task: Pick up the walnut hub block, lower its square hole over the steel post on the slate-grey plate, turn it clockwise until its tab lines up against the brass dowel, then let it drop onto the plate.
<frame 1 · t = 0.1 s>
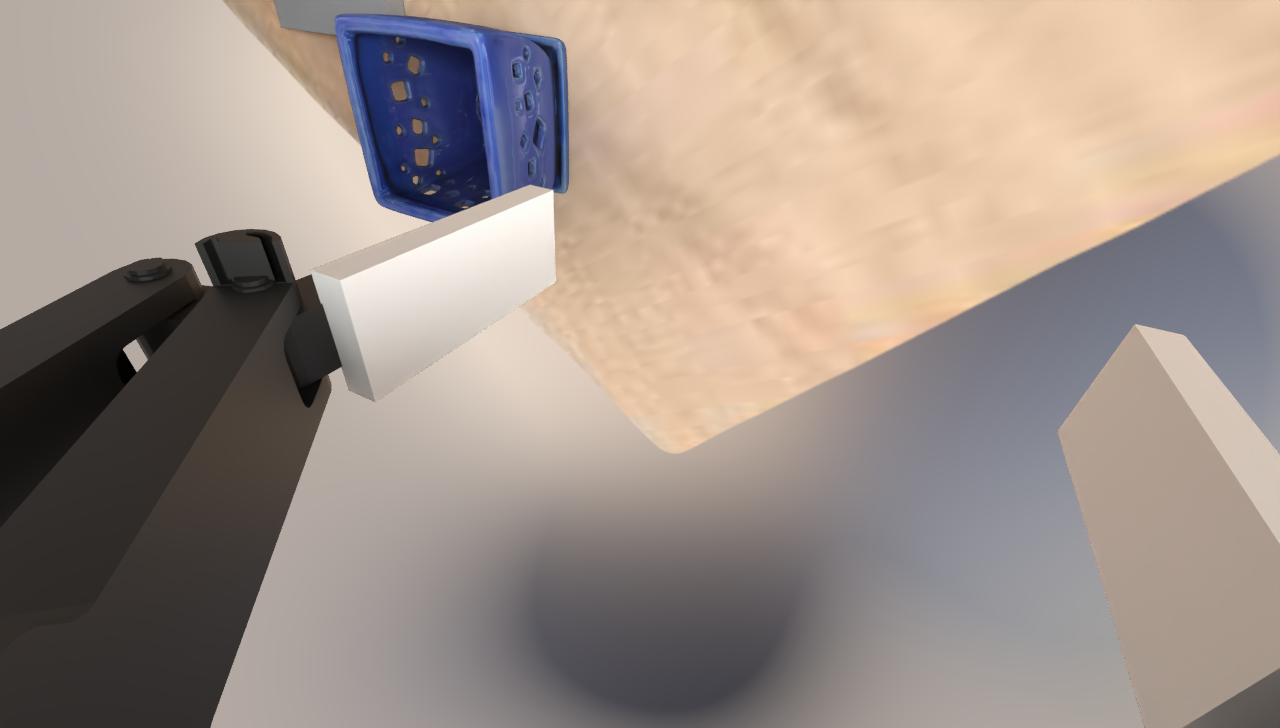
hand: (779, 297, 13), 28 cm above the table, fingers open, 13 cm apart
flower pot: (524, 111, 45), on the table
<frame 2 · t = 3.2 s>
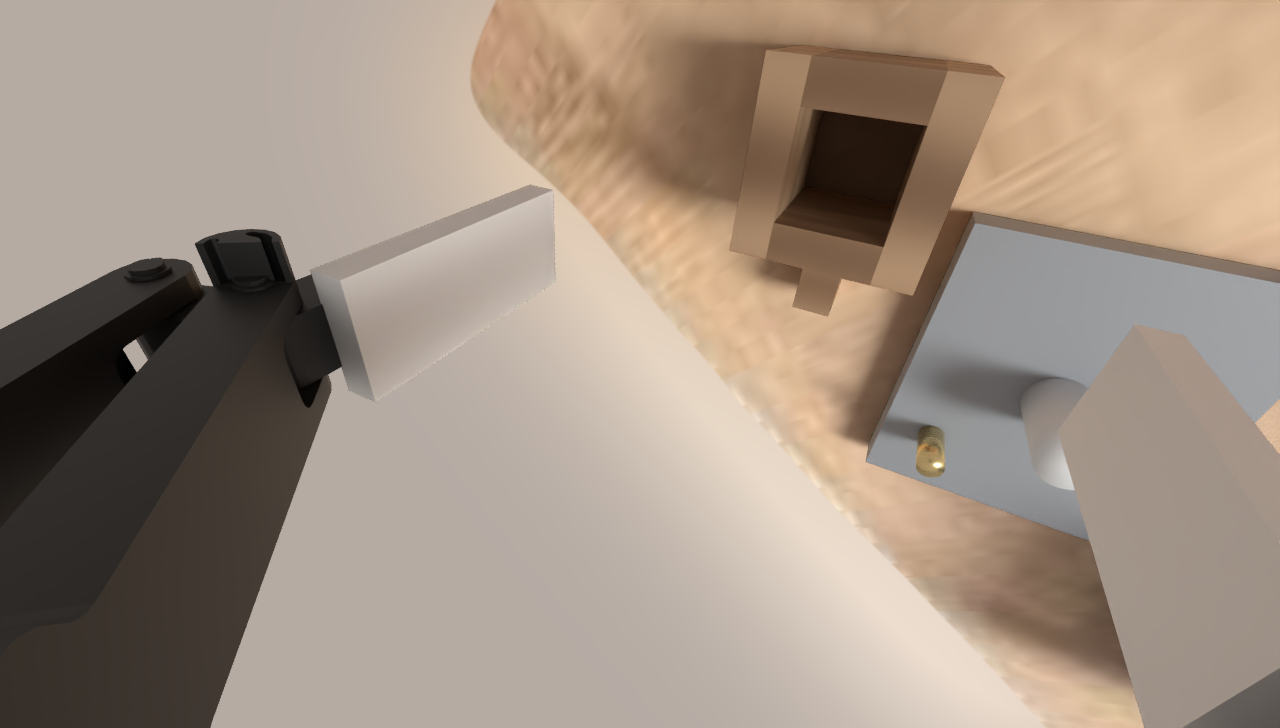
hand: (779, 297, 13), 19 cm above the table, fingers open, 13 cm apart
dowel pin: (931, 415, 32), resting on post base
post base: (1049, 382, 28), on the table
hub block: (862, 148, 27), on the table
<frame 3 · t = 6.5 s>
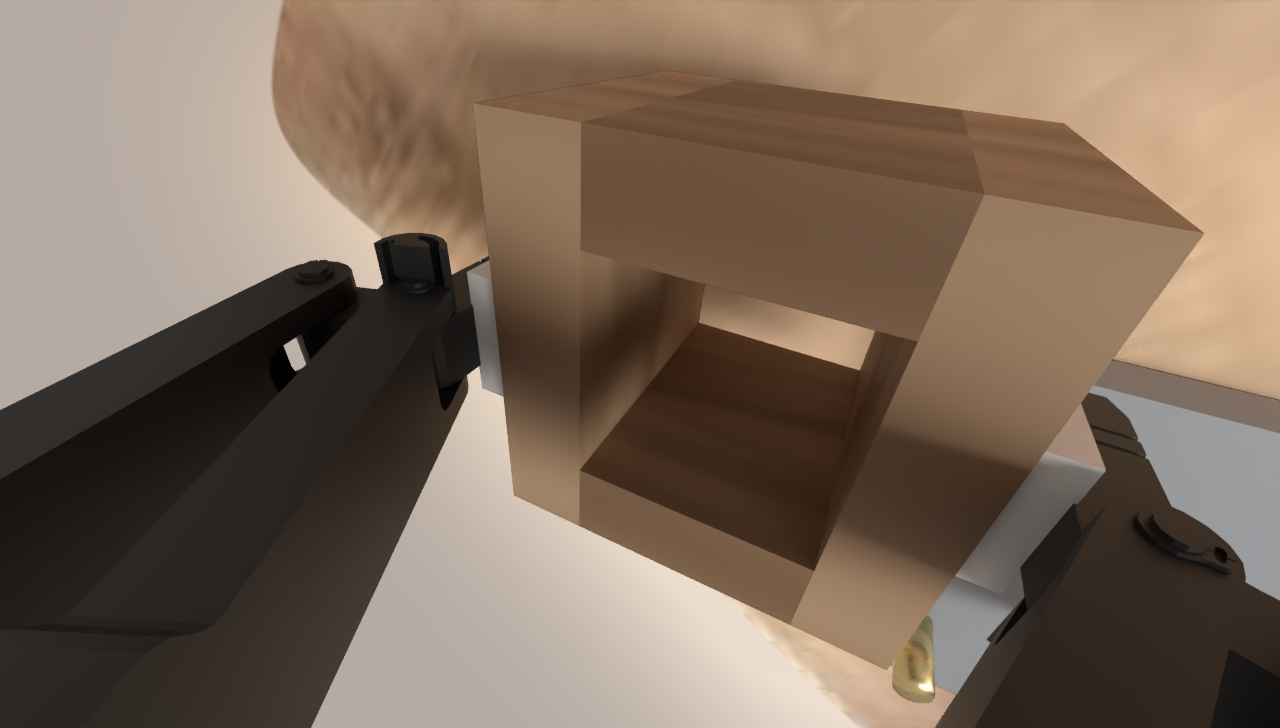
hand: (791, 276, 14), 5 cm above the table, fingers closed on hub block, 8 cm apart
dowel pin: (914, 580, 23), resting on post base
post base: (1084, 561, 19), on the table
hub block: (795, 270, 14), point 4 cm above the table, touching gripper
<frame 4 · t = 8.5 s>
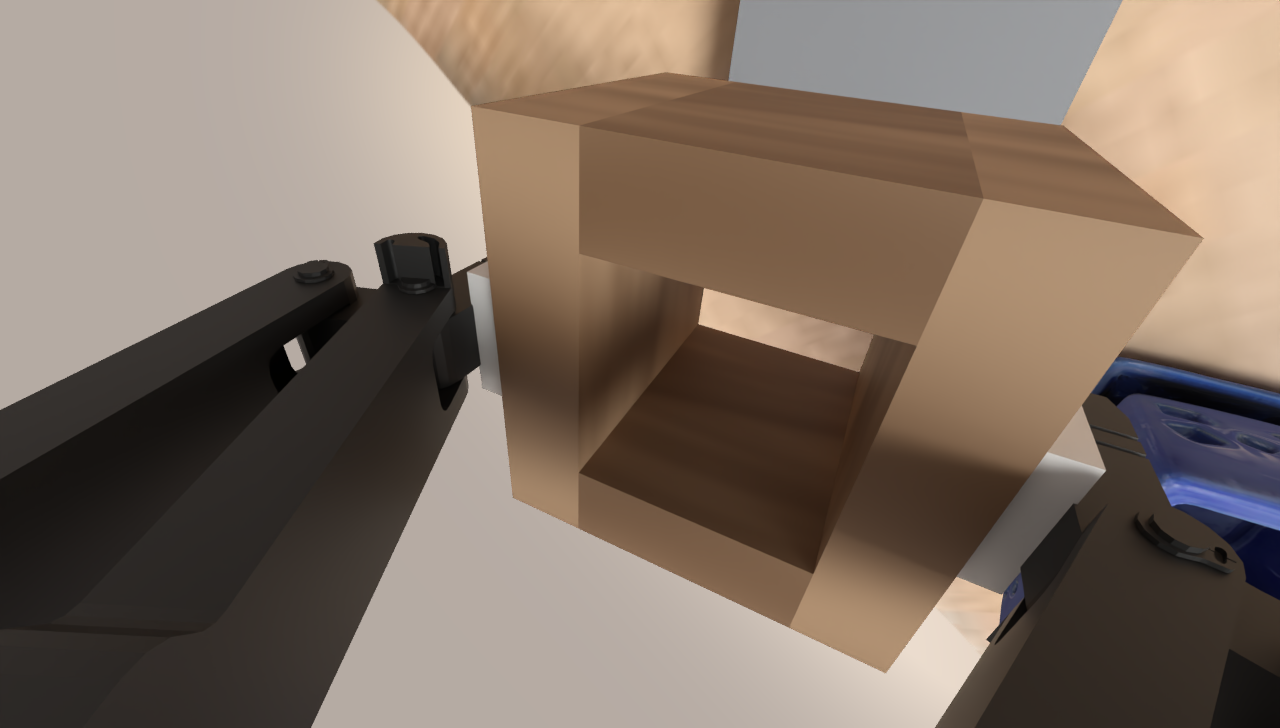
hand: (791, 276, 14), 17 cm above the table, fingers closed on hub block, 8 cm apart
flower pot: (1166, 458, 27), on the table
post base: (863, 156, 26), on the table
hub block: (794, 271, 14), point 16 cm above the table, touching gripper
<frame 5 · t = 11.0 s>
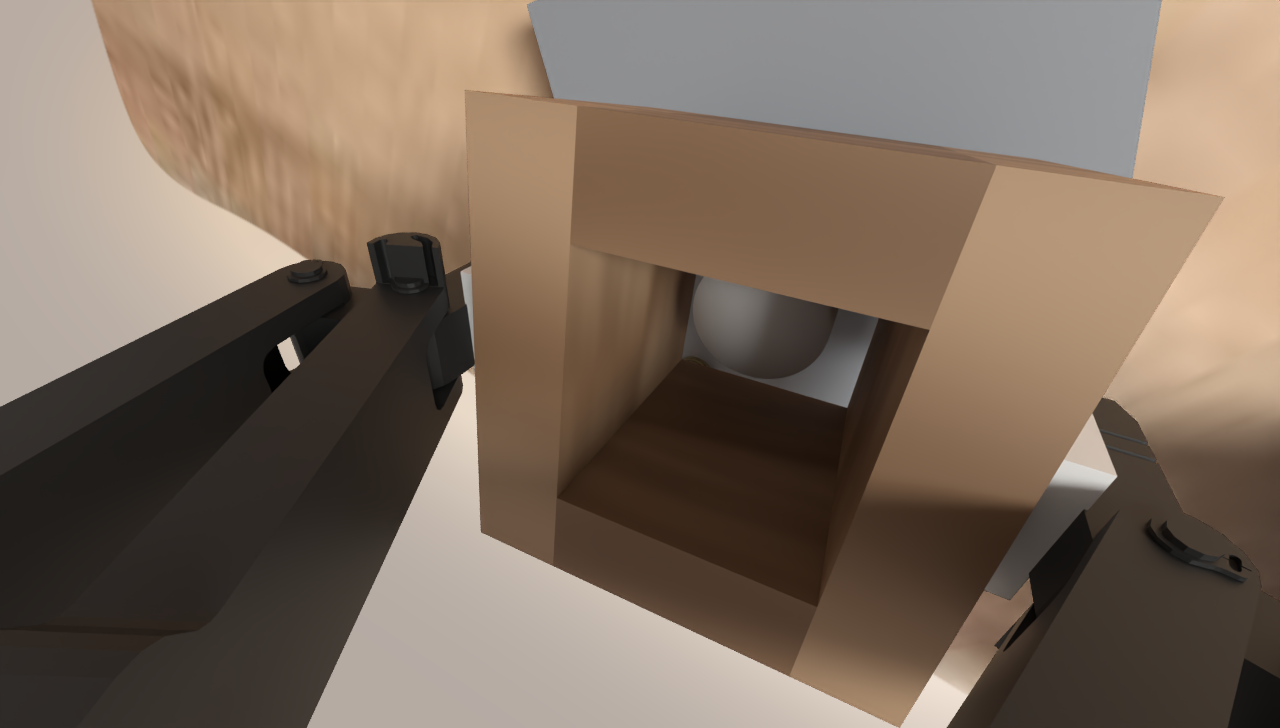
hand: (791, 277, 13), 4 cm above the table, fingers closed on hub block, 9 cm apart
post base: (816, 224, 16), on the table
hub block: (780, 303, 14), point 4 cm above the table, tilted 9°, touching gripper
when the fingers open (3 cm above the table, at t = 11.6 s): hub block drops 1 cm, resting on post base.
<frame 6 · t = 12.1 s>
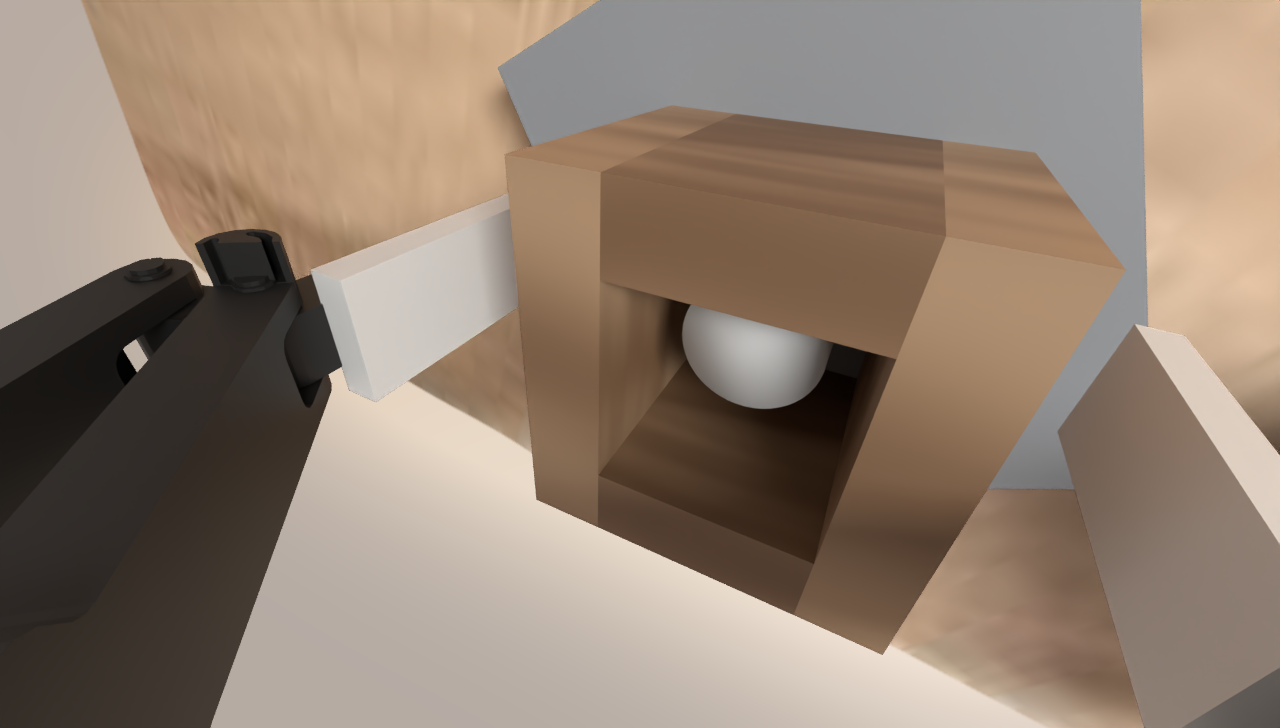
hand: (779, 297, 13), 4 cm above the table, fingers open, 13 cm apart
post base: (813, 240, 16), on the table
hub block: (794, 285, 15), point 2 cm above the table, touching post base
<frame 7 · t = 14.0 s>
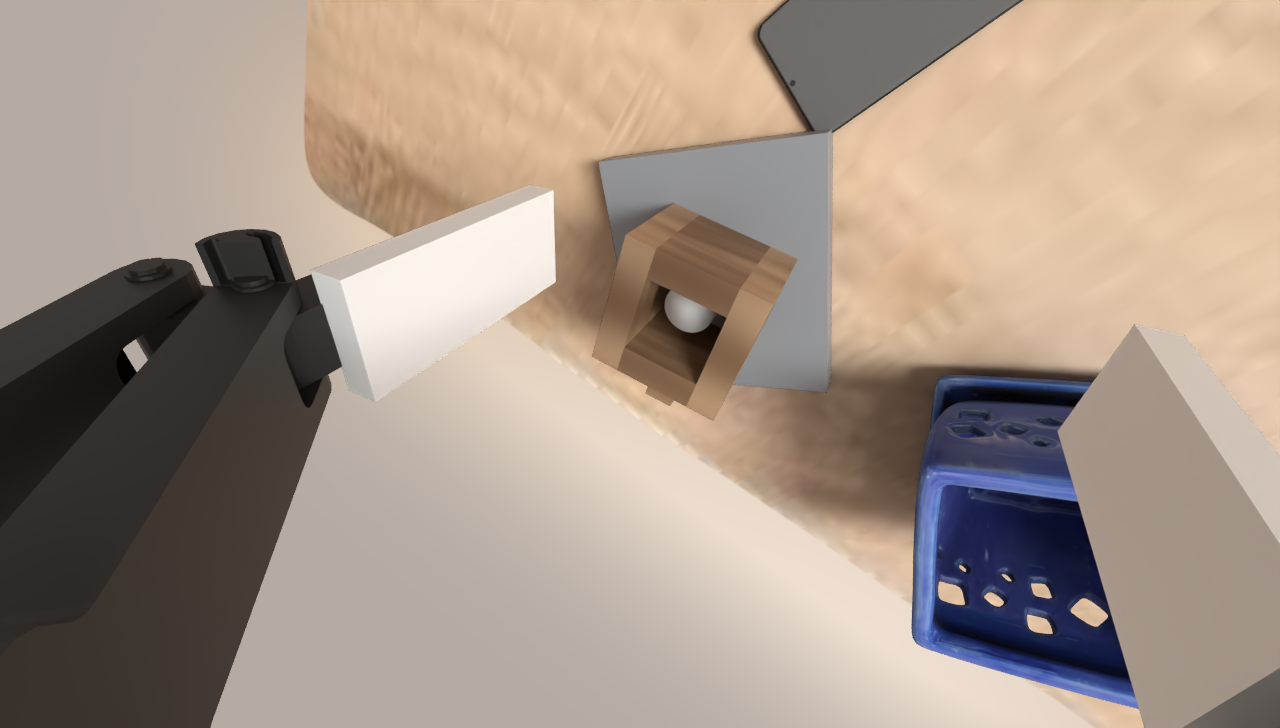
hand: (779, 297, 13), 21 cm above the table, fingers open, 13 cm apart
flower pot: (1030, 444, 33), on the table
post base: (723, 268, 35), on the table
hub block: (710, 287, 34), point 2 cm above the table, touching post base
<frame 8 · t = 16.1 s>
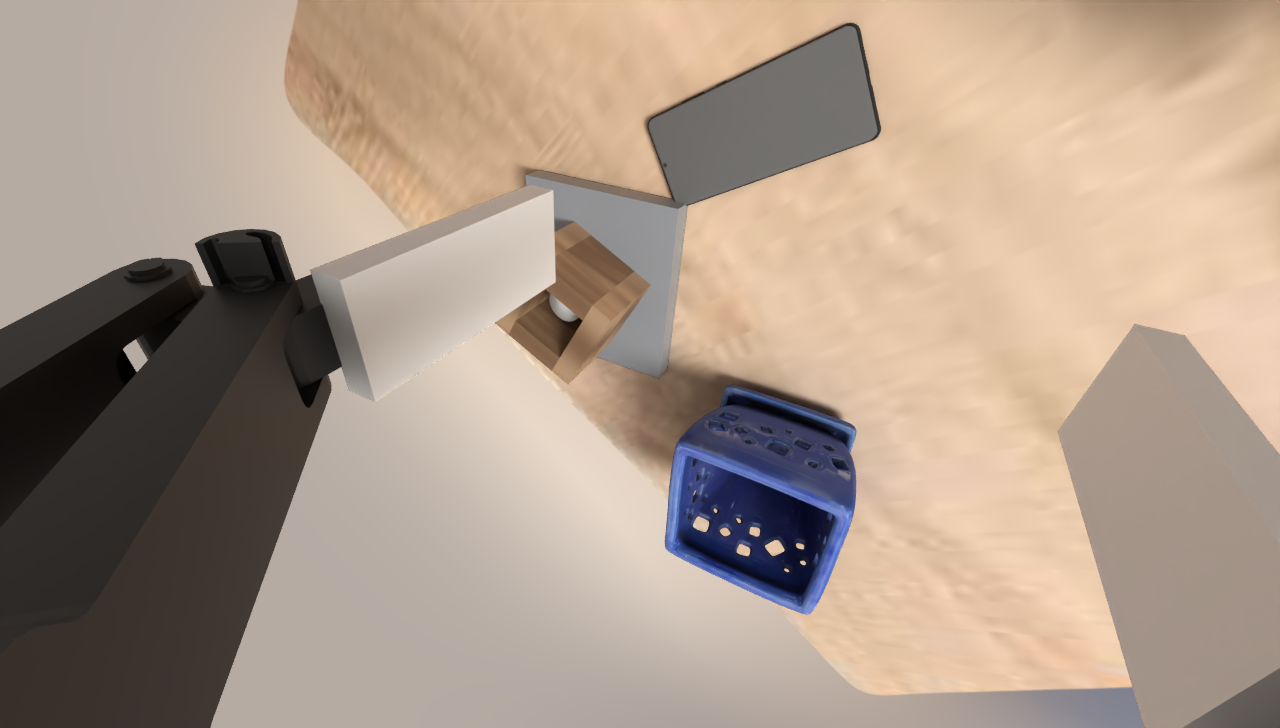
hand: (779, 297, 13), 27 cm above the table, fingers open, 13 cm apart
smartphone: (757, 126, 36), on the table
flower pot: (781, 440, 48), on the table
post base: (606, 273, 47), on the table
hub block: (592, 287, 46), point 2 cm above the table, touching post base
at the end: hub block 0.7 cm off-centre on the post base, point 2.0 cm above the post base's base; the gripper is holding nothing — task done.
